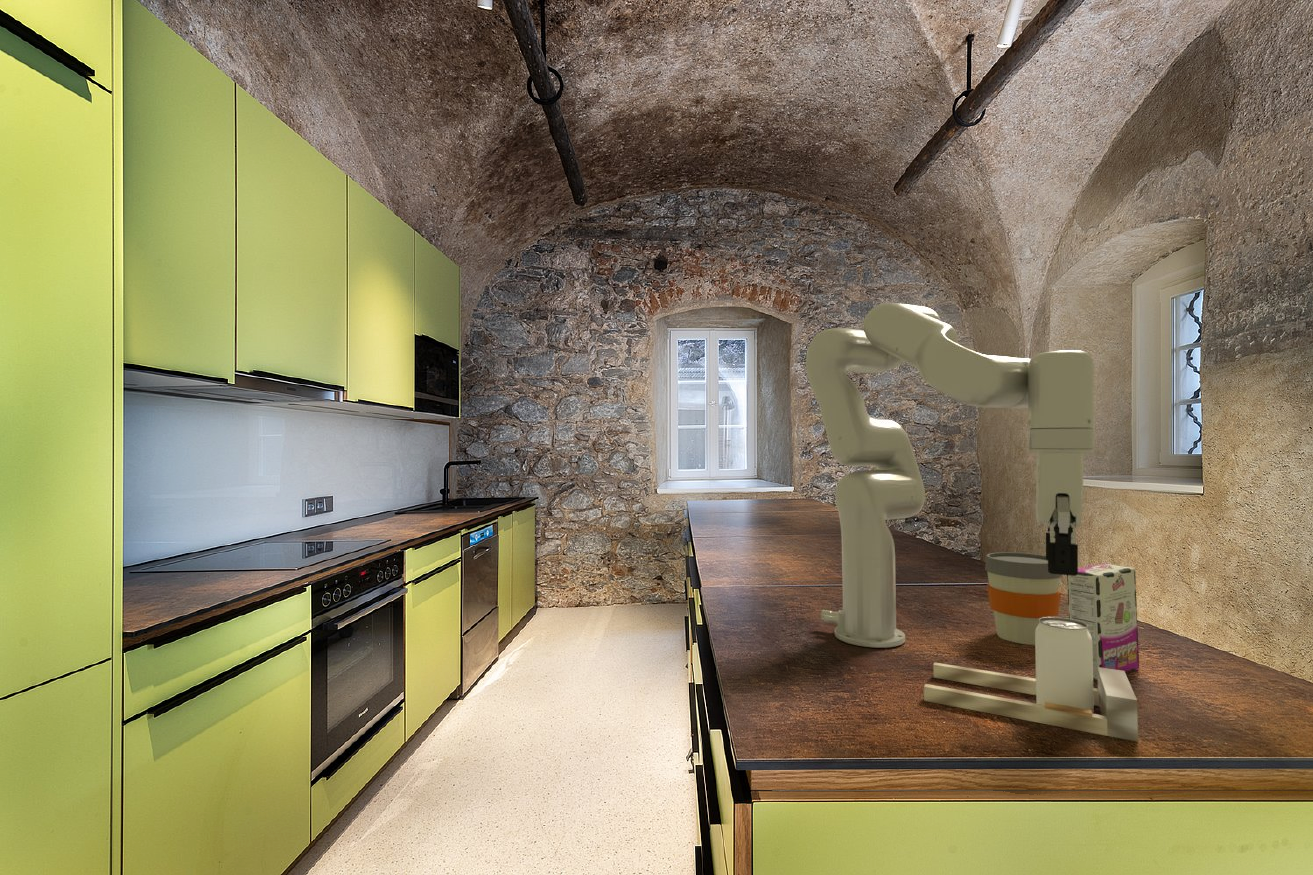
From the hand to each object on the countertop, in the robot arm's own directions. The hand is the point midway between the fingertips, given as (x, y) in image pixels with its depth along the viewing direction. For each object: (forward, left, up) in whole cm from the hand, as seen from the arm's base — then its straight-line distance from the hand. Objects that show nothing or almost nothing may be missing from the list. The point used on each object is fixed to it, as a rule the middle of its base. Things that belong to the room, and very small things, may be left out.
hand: (1060, 567), depth 83 cm
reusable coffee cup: (-5, +35, -20) cm, 40 cm away
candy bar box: (+6, +21, -20) cm, 29 cm away
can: (0, 0, -20) cm, 20 cm away
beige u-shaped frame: (-6, 0, -19) cm, 20 cm away
